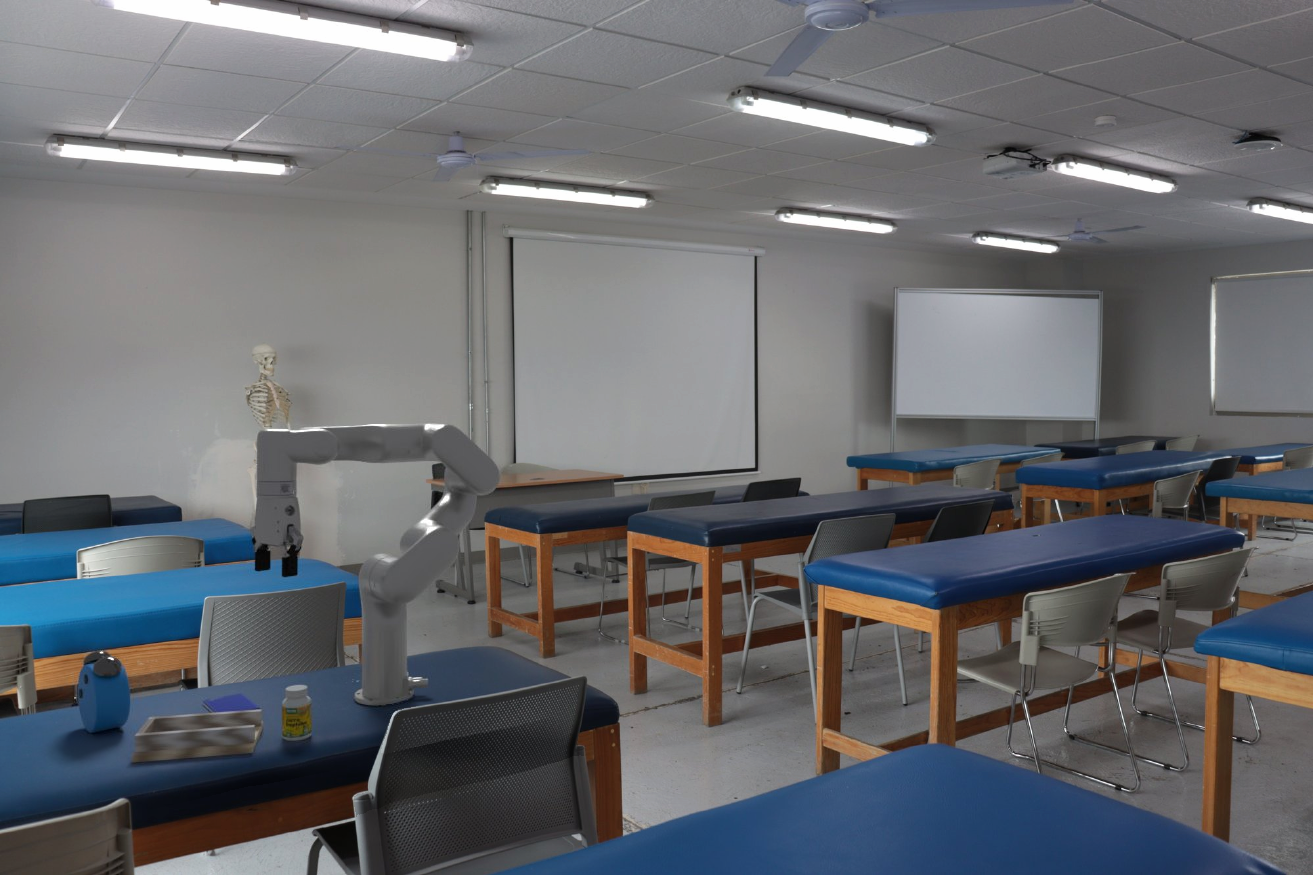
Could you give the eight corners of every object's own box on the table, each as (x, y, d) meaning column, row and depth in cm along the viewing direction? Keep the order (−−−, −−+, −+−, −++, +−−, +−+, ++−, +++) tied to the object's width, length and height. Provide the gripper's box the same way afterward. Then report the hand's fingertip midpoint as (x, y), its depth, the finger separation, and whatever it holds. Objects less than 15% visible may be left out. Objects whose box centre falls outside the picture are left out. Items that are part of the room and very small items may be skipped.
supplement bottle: (311, 730, 185) (311, 682, 185) (311, 739, 180) (311, 690, 180) (282, 733, 183) (282, 684, 183) (281, 742, 178) (281, 693, 178)
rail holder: (263, 727, 186) (263, 706, 186) (252, 752, 173) (252, 730, 173) (151, 735, 181) (151, 714, 181) (132, 762, 168) (131, 739, 167)
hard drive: (202, 699, 200) (219, 715, 190) (243, 692, 205) (260, 707, 196) (203, 707, 200) (219, 722, 190) (243, 699, 205) (261, 714, 196)
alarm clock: (131, 734, 182) (130, 657, 181) (95, 742, 177) (94, 663, 177) (110, 717, 191) (110, 644, 190) (76, 724, 187) (75, 650, 186)
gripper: (318, 491, 188) (317, 576, 189) (270, 485, 198) (269, 566, 199) (284, 493, 182) (283, 581, 183) (236, 487, 192) (235, 570, 193)
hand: (275, 573), depth 191 cm, fingers open, 9 cm apart
